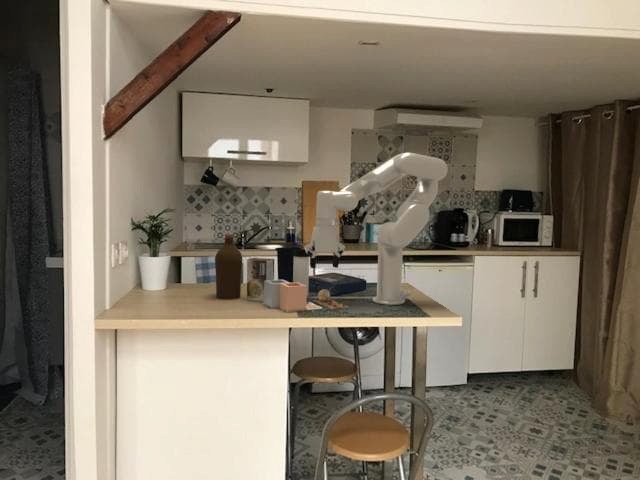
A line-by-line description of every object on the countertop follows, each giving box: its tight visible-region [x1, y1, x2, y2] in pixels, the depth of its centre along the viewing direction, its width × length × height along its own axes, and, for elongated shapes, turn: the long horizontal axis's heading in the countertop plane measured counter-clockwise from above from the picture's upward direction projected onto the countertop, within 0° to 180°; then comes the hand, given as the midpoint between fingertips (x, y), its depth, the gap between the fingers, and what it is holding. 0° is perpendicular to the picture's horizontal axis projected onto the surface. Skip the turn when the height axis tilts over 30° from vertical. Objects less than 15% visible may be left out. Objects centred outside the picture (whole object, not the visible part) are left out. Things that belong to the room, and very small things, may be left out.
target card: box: [306, 300, 323, 311], centre depth 187 cm, size 6×10×2 cm, turn 27°
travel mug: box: [292, 248, 310, 299], centre depth 203 cm, size 6×7×20 cm
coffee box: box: [246, 257, 275, 303], centre depth 196 cm, size 9×6×16 cm
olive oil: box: [214, 233, 243, 300], centre depth 199 cm, size 11×11×25 cm
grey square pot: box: [263, 279, 291, 309], centre depth 187 cm, size 7×7×9 cm
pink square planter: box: [278, 282, 308, 313], centre depth 181 cm, size 7×7×9 cm
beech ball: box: [317, 288, 331, 301], centre depth 194 cm, size 5×5×5 cm
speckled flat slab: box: [312, 297, 350, 311], centre depth 191 cm, size 7×16×1 cm, turn 27°
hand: (324, 267), depth 193 cm, fingers open, 9 cm apart
